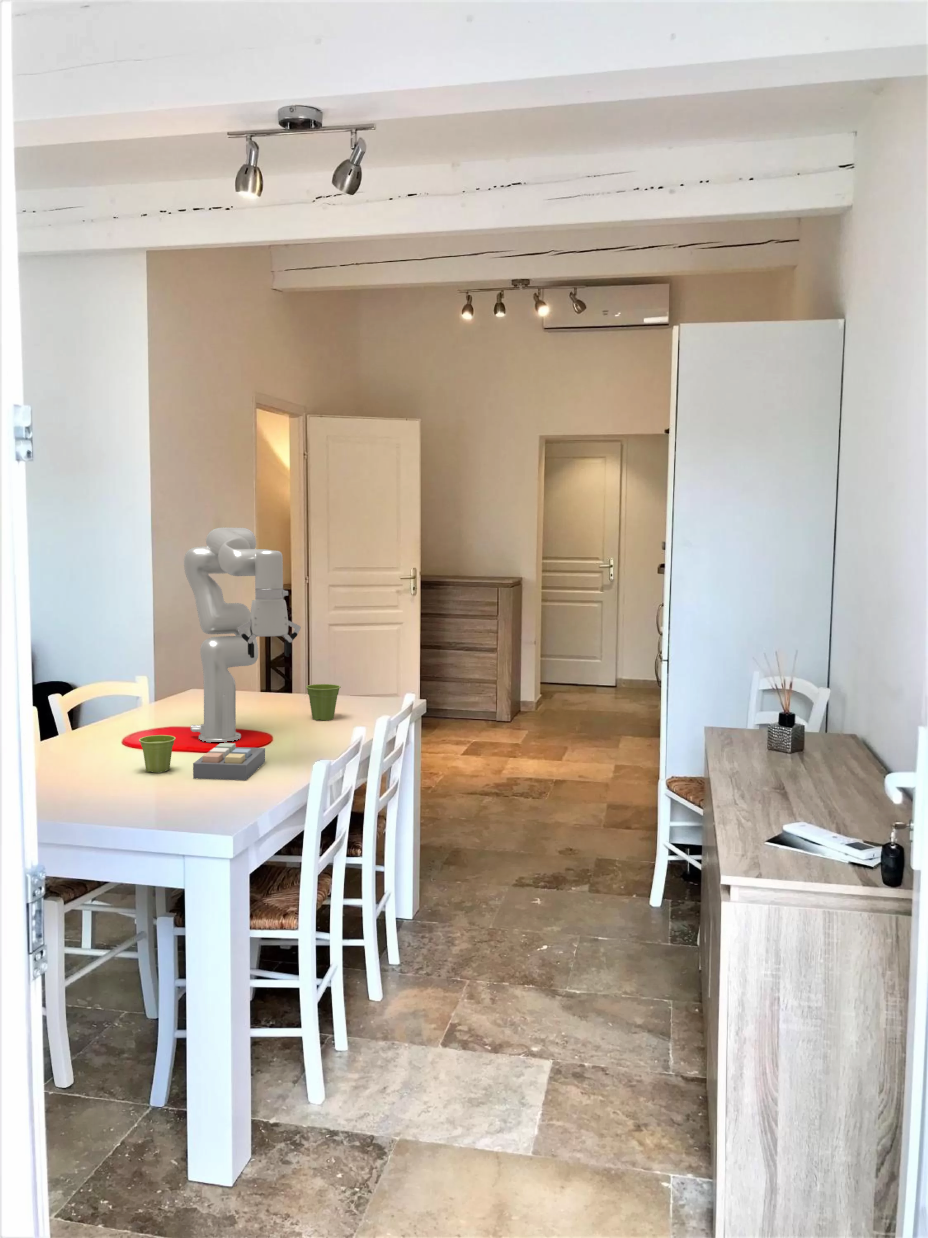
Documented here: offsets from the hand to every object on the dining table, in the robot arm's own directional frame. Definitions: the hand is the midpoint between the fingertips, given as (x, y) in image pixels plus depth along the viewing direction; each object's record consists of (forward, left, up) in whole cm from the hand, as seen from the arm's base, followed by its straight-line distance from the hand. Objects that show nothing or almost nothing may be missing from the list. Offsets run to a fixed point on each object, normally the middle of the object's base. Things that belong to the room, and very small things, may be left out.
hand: (269, 656), depth 282 cm
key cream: (-11, -10, -27) cm, 31 cm away
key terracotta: (-11, -16, -27) cm, 33 cm away
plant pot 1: (-27, -13, -30) cm, 42 cm away
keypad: (-8, -10, -30) cm, 32 cm away
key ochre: (-5, -16, -27) cm, 32 cm away
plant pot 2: (+3, +63, -30) cm, 70 cm away
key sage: (-11, -4, -27) cm, 30 cm away
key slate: (-5, -10, -27) cm, 29 cm away
